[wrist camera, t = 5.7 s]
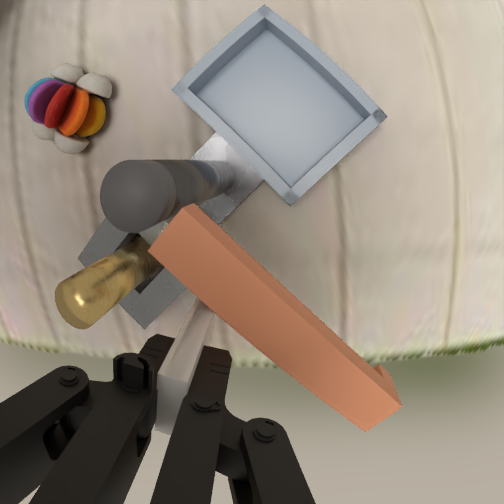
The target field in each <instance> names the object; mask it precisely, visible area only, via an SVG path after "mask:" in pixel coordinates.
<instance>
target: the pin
mask: <svg viewBox="0 0 504 504" xmlns="http://www.w3.org/2000/svg"><path fill="white" fill-rule="evenodd" d="M150 247H151V246H150V245H149V243H148V242H147V241H146V240H145V239H144V238H143V237H141V238H139V239H137V240H135V241H133V242H131V243H130V244H128V245H126V246H124V247H122V248H120V249H118V250H117V251H115V252H113V253H111V254H109V255H108V256H106V257H104V258H102V259H100V260H99V261H97V262H95V263H93V264H91V265H90V266H88V267H86V268H84V269H83V270H81V271H79V272H77V273H76V274H74V275H72V276H70V277H69V278H67V279H65V280H64V281H62V282H60V283H59V284H58V286H57V288H56V290H55V302H56V306H57V308H58V311H59V312H60V314H61V316H62V317H63V318H64V320H65V321H66V322H67V323H69V324H70V325H71V326H73V327H75V328H78V329H87V328H89V327H90V326H92V325H93V324H94V323H95V322H96V321H97V320H98V319H100V318H101V317H102V316H103V315H104V314H105V313H107V312H108V311H109V310H110V309H111V308H112V307H113V306H115V305H116V304H117V303H118V302H119V301H120V300H122V299H123V298H124V297H125V296H126V295H128V294H129V293H130V292H131V291H132V290H133V289H135V288H136V287H137V286H138V285H139V284H141V283H142V282H143V281H144V280H145V279H147V278H148V277H149V276H150V275H151V274H153V273H154V272H155V271H156V270H157V269H159V268H160V267H161V266H162V264H161V263H160V262H159V261H158V260H157V259H156V258H155V257H154V256H153V255H152V254H151V253H149V252H148V250H149V248H150Z"/></svg>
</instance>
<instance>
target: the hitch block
mask: <svg viewBox="0 0 504 504" xmlns="http://www.w3.org/2000/svg"><path fill="white" fill-rule="evenodd" d="M175 216H176V215H175ZM175 216H173V217H171V218H169V219H167V220H165V221H163V222H161V223H158V224H156V225H154V226H152V227H150V228H148V229H146V230H144V231H142V232H138V233H139V234H140V235H141V236H142V237H143V238H144V239H145V240H146V241H147V242H148V243H149V245H150V246H152V245H153V243H154V242H155V241H156V240H157V238H158V237H159V236H160V234H161V233H162V232H163V231H164V230H165V228H166V227H167V226H168V225H169V223H170V222H171V221H172V220H173V218H174V217H175ZM136 234H137V233H128V232H124V231H121V230H119V229H117V228H116V227H115V226H113V225H112V224H111V223H110V222H109V220H108V219H107V217H106V219H105V220H104V221H103V223H102V224H101V225H100V227H99V228H98V230H97V231H96V232H95V234H94V235H93V237H92V238H91V239H90V241H89V242H88V244H87V245H86V247H85V248H84V250H83V251H82V253H81V254H80V256H79V257H78V259H79V260H80V262H81V263H82V264H83V265H84V266H85V267H88V266H90V265H91V264H93V263H95V262H97V261H99V260H100V259H102V258H104V257H106V256H108V255H109V254H111V253H113V252H115V251H117V250H118V249H120V248H122V247H124V246H126V245H128V244H129V242H130V241H131V240H132V239H133V238H134V236H135V235H136ZM186 288H187V287H186V286H185V285H184V284H183V283H181V282H180V281H179V280H178V279H177V278H176V277H175V276H174V275H173V274H172V273H171V272H170V271H168V270H167V269H166V268H164V269H163V270H162V271H161V272H160V273H159V274H158V275H157V276H156V277H155V278H154V279H153V281H152V282H150V281H149V280H148V279H145V280H144V281H143V282H142V283H141V284H139V285H138V286H137V287H136V288H135V289H133V290H132V291H131V292H130V293H129V294H128V295H126V296H125V297H124V298H123V299H122V300H120V301H119V302H118V303H119V304H120V305H121V306H122V307H123V308H124V309H125V310H126V311H127V312H128V313H129V315H130V316H131V317H132V318H133V319H134V320H135V321H136V322H138V323H139V324H140V325H141V326H142V327H143V328H144V329H145V328H146V327H147V326H148V325H149V324H150V323H151V322H152V321H153V320H155V319H156V318H157V317H158V316H159V315H160V314H161V313H162V312H163V311H164V310H165V309H166V308H167V307H168V306H169V305H170V304H171V303H172V302H173V301H174V300H175V299H176V298H177V297H178V296H179V295H180V294H181V293H182V292H183V291H184V290H185V289H186Z"/></svg>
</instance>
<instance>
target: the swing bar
mask: <svg viewBox="0 0 504 504" xmlns="http://www.w3.org/2000/svg"><path fill="white" fill-rule="evenodd" d="M100 200H101V206H102V209H103V212H104V214H105V216H106V217H107V219H108V220H109V222H110V223H111V224H112V225H113V226H115V227H116V228H117V229H119V230H121V231H124V232H128V233H138V232H142V231H144V230H146V229H148V228H150V227H152V226H154V225H156V224H158V223H160V222H162V221H163V220H165V219H166V218H167V217H168V216H169V214H170V213H171V211H172V209H173V207H174V205H175V201H176V186H175V182H174V179H173V177H172V175H171V174H170V172H169V171H168V170H167V169H166V168H165V167H164V166H163V165H162V164H160V163H158V162H156V161H152V160H127V161H123V162H120V163H118V164H116V165H115V166H113V167H112V168H111V169H110V170H109V171H108V173H107V174H106V176H105V178H104V180H103V182H102V186H101V191H100ZM148 252H149V253H151V254H152V255H153V256H154V257H155V258H156V259H157V260H158V261H159V262H160V263H161V264H162V265H163V266H164V267H165V268H166V269H167V270H168V271H170V272H171V273H172V274H173V275H174V276H175V277H176V278H177V279H178V280H179V281H180V282H181V283H183V284H184V285H185V286H186V287H187V288H188V289H189V290H190V291H191V292H192V293H194V294H195V295H196V296H197V297H198V298H199V299H200V300H201V301H202V302H204V303H205V304H206V305H207V306H208V307H209V308H210V309H211V310H213V311H214V312H215V313H216V314H217V315H218V316H219V317H221V318H222V319H223V320H224V321H225V322H226V323H227V324H229V325H230V326H231V327H232V328H233V329H234V330H236V331H237V332H238V333H239V334H240V335H242V336H243V337H244V338H245V339H246V340H247V341H249V342H250V343H251V344H252V345H253V346H255V347H256V348H257V349H258V350H259V351H261V352H262V353H263V354H264V355H266V356H267V357H268V358H269V359H270V360H272V361H273V362H274V363H275V364H277V365H278V366H279V367H280V368H282V369H283V370H284V371H285V372H287V373H288V374H289V375H290V376H292V377H293V378H294V379H295V380H297V381H298V382H299V383H300V384H302V385H303V386H304V387H306V388H307V389H308V390H310V391H311V392H312V393H313V394H315V395H316V396H317V397H319V398H320V399H321V400H323V401H324V402H325V403H327V404H328V405H329V406H330V407H332V408H333V409H335V410H336V411H337V412H339V413H340V414H341V415H343V416H344V417H345V418H347V419H348V420H349V421H351V422H352V423H354V424H355V425H357V426H358V427H359V428H361V429H362V430H363V431H365V432H366V431H367V430H369V429H371V428H372V427H373V426H375V425H376V424H378V423H380V422H381V421H383V420H384V419H385V418H387V417H388V416H390V415H391V414H393V413H394V412H395V411H397V410H398V409H400V408H401V407H402V405H401V402H400V400H399V397H398V394H397V392H396V389H395V386H394V384H393V381H392V379H391V376H390V374H389V373H388V372H387V371H386V370H385V369H384V368H383V367H382V366H381V365H379V364H377V365H376V366H375V367H374V368H372V367H371V366H370V365H369V364H368V363H367V362H366V361H364V360H363V359H362V358H361V357H360V356H359V355H358V354H357V353H356V352H355V351H354V350H352V349H351V348H350V347H349V346H348V345H347V344H346V343H345V342H344V341H343V340H342V339H340V338H339V337H338V336H337V335H336V334H335V333H334V332H333V331H332V330H331V329H330V328H329V327H327V326H326V325H325V324H324V323H323V322H322V321H321V320H320V319H319V318H318V317H317V316H316V315H314V314H313V313H312V312H311V311H310V310H309V309H308V308H307V307H306V306H305V305H304V304H302V303H301V302H300V301H299V300H298V299H297V298H296V297H295V296H294V295H293V294H292V293H291V292H289V291H288V290H287V289H286V288H285V287H284V286H283V285H282V284H281V283H280V282H279V281H278V280H276V279H275V278H274V277H273V276H272V275H271V274H270V273H269V272H268V271H267V270H266V269H265V268H263V267H262V266H261V265H260V264H259V263H258V262H257V261H256V260H255V259H254V258H253V257H252V256H251V255H249V254H248V253H247V252H246V251H245V250H244V249H243V248H242V247H241V246H240V245H239V244H238V243H236V242H235V241H234V240H233V239H232V238H231V237H230V236H229V235H228V234H227V233H226V232H225V231H224V230H222V229H221V228H220V227H219V226H218V225H217V224H216V223H215V222H214V221H213V220H212V219H211V218H210V217H208V216H207V215H206V214H205V213H204V212H203V211H202V210H201V209H200V208H199V207H198V206H197V205H196V204H194V203H192V204H190V205H188V206H185V207H183V208H182V209H181V210H180V211H179V212H178V214H177V215H176V216H175V217H174V218H173V220H172V221H171V222H170V223H169V225H168V226H167V227H166V228H165V230H164V231H163V232H162V233H161V234H160V236H159V237H158V238H157V240H156V241H155V242H154V243H153V245H152V246H151V247H150V248H149V250H148Z"/></svg>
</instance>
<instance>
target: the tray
mask: <svg viewBox="0 0 504 504" xmlns="http://www.w3.org/2000/svg"><path fill="white" fill-rule="evenodd" d="M171 90H172V91H173V92H174V93H175V94H176V95H177V96H179V97H180V98H181V99H182V100H183V101H184V102H185V103H186V104H187V105H188V106H189V107H190V108H192V109H193V110H194V111H195V112H196V113H197V114H198V115H199V116H200V117H201V118H202V119H203V120H204V121H205V122H206V123H207V124H208V125H210V126H211V127H212V128H213V129H214V130H215V131H216V132H217V133H218V134H219V135H220V136H221V137H222V138H223V139H224V140H225V141H226V142H227V143H228V144H229V145H230V146H231V147H232V148H233V149H234V150H235V151H236V152H237V153H238V154H239V155H240V156H241V157H242V158H243V159H244V160H245V161H246V162H247V163H248V164H249V165H250V166H251V167H252V168H253V169H254V170H255V171H256V172H257V173H258V174H259V175H260V176H261V177H262V178H263V179H264V180H265V181H266V182H267V183H268V184H269V185H270V186H271V187H272V188H273V189H274V190H275V191H276V192H277V193H278V194H279V195H280V196H281V197H282V198H283V199H284V200H285V202H286V203H287V204H288V205H289V206H291V205H292V204H293V203H294V202H296V201H297V200H298V199H299V198H300V197H301V196H302V195H303V194H304V193H305V192H306V191H307V190H308V189H310V188H311V187H312V186H313V185H314V184H315V183H316V182H317V181H318V180H319V179H320V178H321V177H323V176H324V175H325V174H326V173H327V172H328V171H329V170H330V169H331V168H332V167H333V166H334V165H336V164H337V163H338V162H339V161H340V160H341V159H342V158H343V157H344V156H345V155H346V154H347V153H349V152H350V151H351V150H352V149H353V148H354V147H355V146H356V145H357V144H358V143H359V142H360V141H362V140H363V139H364V138H365V137H366V136H367V135H368V134H369V133H370V132H371V131H372V130H374V129H375V128H376V127H377V126H378V125H379V124H380V123H381V122H382V121H383V120H384V119H386V118H387V115H386V114H385V113H384V112H383V111H382V110H381V109H380V108H379V107H378V105H377V104H376V103H375V102H374V101H373V100H372V99H371V98H370V97H369V96H368V95H367V94H366V93H365V92H364V91H363V90H362V88H361V87H360V86H359V85H358V84H357V83H356V82H355V81H354V80H353V79H352V78H351V77H350V76H349V75H348V74H347V73H346V72H344V71H343V70H342V69H341V68H340V67H339V66H338V65H337V64H336V63H335V62H334V61H333V60H332V59H331V58H330V57H328V56H327V55H326V54H325V53H324V52H323V51H322V50H321V49H320V48H318V47H317V46H316V45H315V44H314V43H313V42H312V41H310V40H309V39H308V38H307V37H306V36H304V35H303V34H302V33H301V32H300V31H298V30H297V29H296V28H295V27H293V26H292V25H291V24H290V23H288V22H287V21H286V20H285V19H283V18H282V17H281V16H279V15H278V14H277V13H275V12H274V11H273V10H271V9H270V8H269V7H267V6H266V5H265V4H264V5H263V6H262V7H261V8H259V9H258V10H257V11H256V12H254V13H253V14H252V15H251V16H249V17H248V18H247V19H246V20H245V21H243V22H242V23H241V24H240V25H239V26H237V27H236V28H235V29H234V30H233V31H232V32H230V33H229V34H228V35H227V36H226V37H225V38H224V39H223V40H221V41H220V42H219V43H218V44H217V45H216V46H215V47H214V48H213V49H212V50H211V51H209V52H208V53H207V54H206V55H205V56H204V57H203V58H202V59H201V60H200V61H199V62H198V63H197V64H196V65H195V66H194V67H193V68H192V69H191V70H190V71H189V72H188V73H187V74H186V75H185V76H184V77H183V78H182V79H181V80H180V81H179V82H178V83H177V84H176V85H175V86H174V87H173V88H172V89H171Z"/></svg>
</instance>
